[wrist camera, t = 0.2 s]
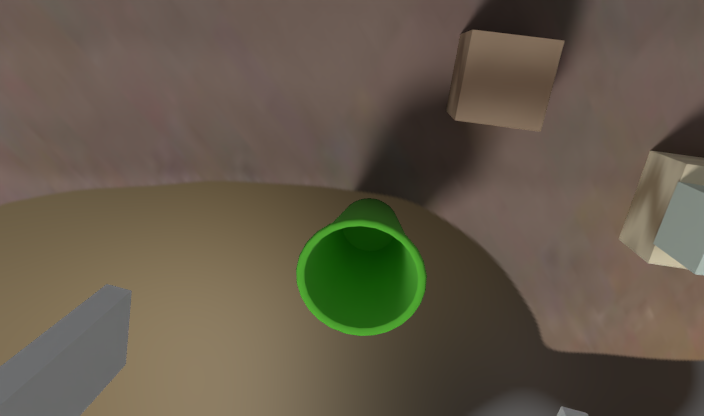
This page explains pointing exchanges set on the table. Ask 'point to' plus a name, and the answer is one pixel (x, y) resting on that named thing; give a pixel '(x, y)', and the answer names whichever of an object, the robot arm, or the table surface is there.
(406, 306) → the cup
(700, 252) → the tower top
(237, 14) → the table surface
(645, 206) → the tower base
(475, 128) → the table surface
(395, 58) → the table surface
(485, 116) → the walnut cube
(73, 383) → the robot arm
